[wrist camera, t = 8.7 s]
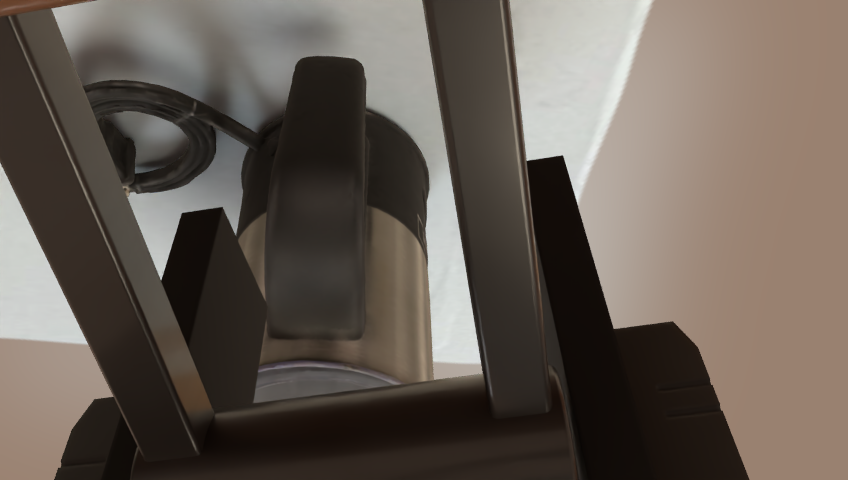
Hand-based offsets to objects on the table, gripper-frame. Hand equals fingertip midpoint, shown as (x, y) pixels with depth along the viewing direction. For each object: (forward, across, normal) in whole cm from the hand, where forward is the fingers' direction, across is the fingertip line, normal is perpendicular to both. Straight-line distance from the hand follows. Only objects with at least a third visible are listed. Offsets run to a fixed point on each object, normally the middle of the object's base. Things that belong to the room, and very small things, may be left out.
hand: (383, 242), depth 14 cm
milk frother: (+19, -8, -11) cm, 24 cm away
